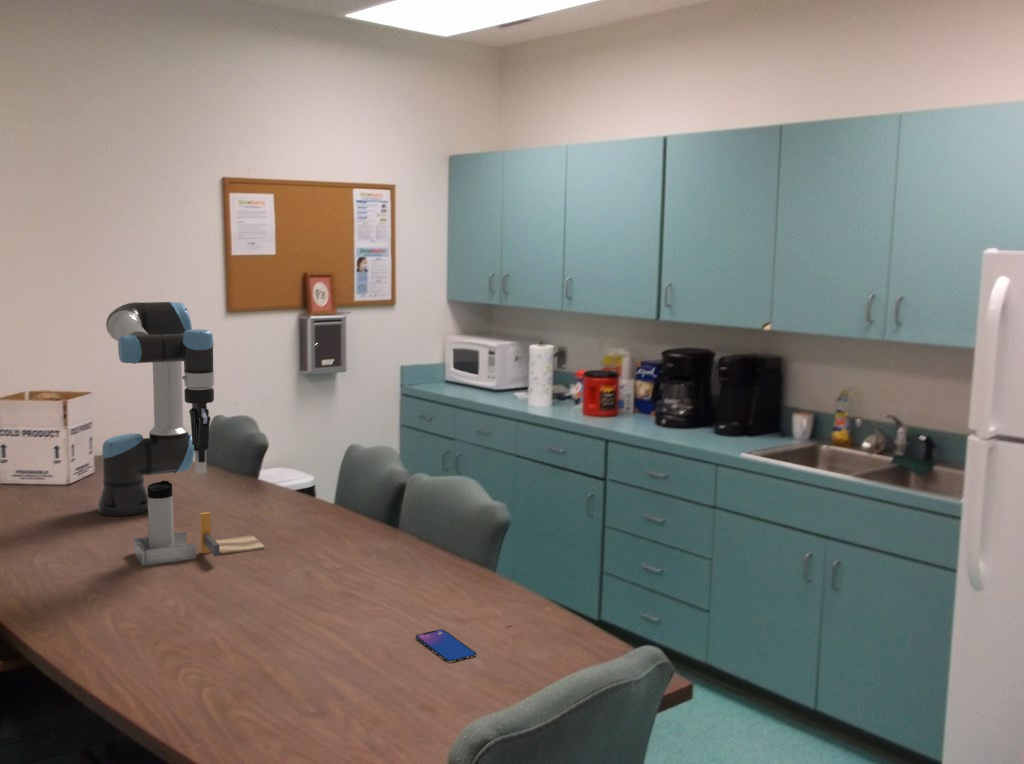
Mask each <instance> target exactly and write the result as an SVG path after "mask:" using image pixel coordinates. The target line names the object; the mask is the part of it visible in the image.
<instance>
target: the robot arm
mask: <svg viewBox="0 0 1024 764" xmlns="http://www.w3.org/2000/svg"><path fill="white" fill-rule="evenodd" d="M107 316H108V317H107V319H106V321H105V324H106V325H105V327H106V331H107V333H108V334H109V336H110V337H111V338H112V339H114V340H115V341H117V350H118V351H117V352H118V358H119V359H118V360H119V361H120V362H121V363H123V364H133V365H135V364H146V363H152V381H153V382H152V384H153V385H152V386H153V389H152V390H153V392H152V393H153V420H154V421H153V422H154V423H153V425H154V426H153V428H151V429H150V430H149V434H148V435H149V437H146V438H145V437H144V436H143V435H142V434H141V433H125V434H120V435H117V436H116V435H115V436H112V437H110V438H108V439H106V440H105V441H104V442H103V443H102V449H101V451H102V453H101V459H102V476H103V477H102V479H103V480H102V481H103V488H102V492H101V494H100V498H99V500H98V505H97V507H98V508H97V511H98V513H99V514H100V515H102V516H103V515H104V516H109V517H123V516H124V517H125V516H133V515H134V516H135V515H138V514H143V513H145V512H148V490H147V488H146V487H145V479H144V477H145V476H151V475H164V474H172V473H173V474H177V473H180V472H181V473H182V472H187V471H189V470H190V469H191V467H192V465H193V461H194V473H195V474H196V475H202V474H207V450H208V449H209V441H210V440H209V438H210V423H211V416H210V411H209V408H208V407H207V404H208V403H209V404H210V403H212V402H214V400H215V390H214V389H215V388H213V387H215V386H214V385H215V377H214V375H215V374H214V373H215V371H214V345H215V343H214V337H213V332H212V331H211V330H209V329H199V328H198V329H197V328H196V329H192V328H193V327H192V320H191V316H190V313H189V310H188V308H187V306H186V305H185V304H184V303H182V302H176V301H173V302H171V301H154V302H153V301H152V302H149V301H148V302H145V301H144V302H139V301H138V302H137V301H135V302H129V303H124V304H122V305H121V306H118V307H117V308H115V309H114V310H112V311H111V313H109V315H107ZM182 363H183V364H182ZM182 367H184V368H182ZM182 369H183V370H182ZM183 372H184V373H183ZM183 374H184V375H183ZM183 380H184V382H183ZM183 383H184V387H186V388H184V392H183ZM183 393H184V402H185V403H187V404H190V405H191V408H190V409H189V411H188V412H189V418H190V428H191V434H190V433H189V429H188V428H186V426H184V411H183V410H184V406H183V405H184V403H183Z"/></svg>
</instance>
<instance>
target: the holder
mask: <svg viewBox="0 0 1024 764" xmlns="http://www.w3.org/2000/svg"><path fill="white" fill-rule="evenodd" d="M187 539H188V538H187V532H184V531H183V532H176V533H175V532H174V546H169V547H162V548H155V549H149V536H146V537H138V538H137V537H136V538H133V554H134V556H135V557H136V558H137V560H138V561H139V564H140V565H141V567H147V566H154V565H162V564H168V563H175V562H181V561H182V562H183V561H188V560H195V559H196V560H197V544H196V543H195V542H193V543H188V542H187Z"/></svg>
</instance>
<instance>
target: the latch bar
mask: <svg viewBox="0 0 1024 764" xmlns="http://www.w3.org/2000/svg"><path fill="white" fill-rule="evenodd" d="M211 522H212V521H211V512H210V511H206V512H200V513H199V525H200V528H199V531H200V536H199V537H200V553H201V554H210V553H211V554H212V556H214V557H220V555H221V554H220V553H219V544H218V543H217V542H216V541H215V540H216V539H215V538H213V536H212V535H211V534H212V531H211V530H212V528H211V525H212V523H211Z"/></svg>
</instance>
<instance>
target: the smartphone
mask: <svg viewBox="0 0 1024 764" xmlns="http://www.w3.org/2000/svg"><path fill="white" fill-rule="evenodd" d="M416 638H417V639H418V640H419V641H420V642H422V643H423V644H425V647H426V646H427V647H429V648H430V649H431V650H433V651H434V652H436V653H437V654H438V655H439V656H441V657H442V658H444V659H445V660H446V661H454V660H459V659H462V660H464V659H463V658H466V657H468V656H469V657H471V656H474V655H476V656H477V653H476V651H474V650H473V649H471V648H470V647H469V646H467V644H464V643H463V642H462V641H461V640H459V639H458V638H456V637H455V636H454V635H452V634H451V633H450V632H448V631H447V630H446V629H436V630H431V631H427V632H423V633H422V632H421V633H417V634H416V635H415V639H416ZM417 639H416V640H417ZM418 640H417V641H418ZM419 641H418V642H419ZM420 642H419V643H420ZM422 643H421V644H422ZM423 644H422V645H423ZM427 647H426V648H427ZM430 649H429V650H430ZM431 650H430V651H431ZM434 652H433V653H434ZM438 655H437V656H438ZM439 656H438V657H439ZM442 658H441V659H442ZM446 661H445V662H446Z"/></svg>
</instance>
